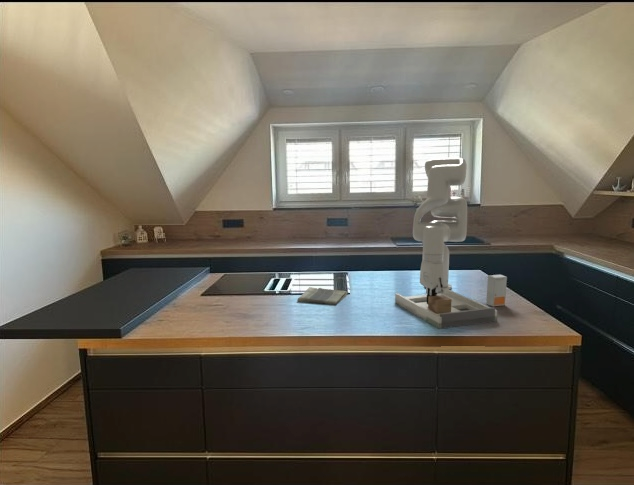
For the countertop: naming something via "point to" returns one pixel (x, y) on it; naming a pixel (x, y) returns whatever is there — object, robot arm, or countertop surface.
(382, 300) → the countertop surface
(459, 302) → the box
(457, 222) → the robot arm
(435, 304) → the block
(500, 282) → the skincare box
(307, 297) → the dish towel
